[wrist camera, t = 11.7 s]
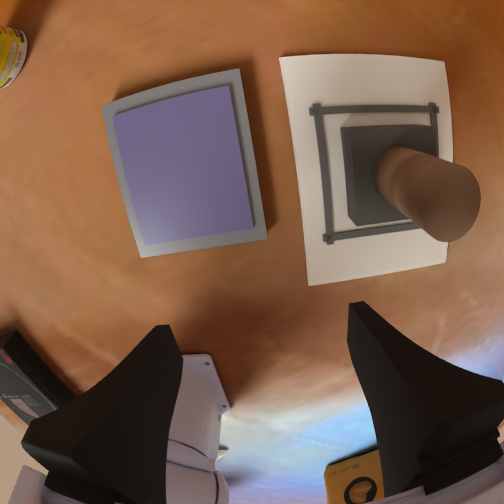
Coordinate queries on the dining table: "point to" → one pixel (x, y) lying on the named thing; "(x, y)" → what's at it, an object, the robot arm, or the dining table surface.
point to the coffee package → (355, 480)
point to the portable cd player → (28, 380)
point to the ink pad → (187, 164)
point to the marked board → (332, 164)
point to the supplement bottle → (11, 54)
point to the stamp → (407, 180)
